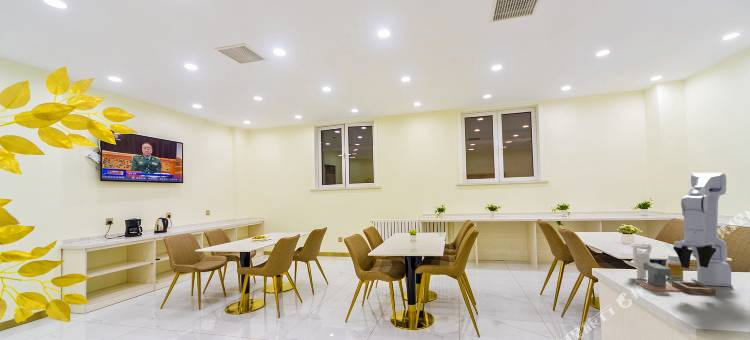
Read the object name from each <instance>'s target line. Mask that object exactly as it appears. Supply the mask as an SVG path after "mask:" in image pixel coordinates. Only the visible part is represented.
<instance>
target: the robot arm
mask: <svg viewBox="0 0 750 340" xmlns="http://www.w3.org/2000/svg"><path fill="white" fill-rule="evenodd" d="M690 184H691V188H690V189H689V191H688V193H687V194H686V195H685V196H683V197H681V201H680V206H681V213H682V215H681V216H683V239H681V240H678V241H673V246H672V248H673V250H674V252H675V253H676V255H678V257H679V260H680V263H681V266H682V267H683V269H684V268H685V269H690V266H691V265H690V264H691V257H693V258H694V259H695V260H696V263H697V265H696V269H697V270H696V274H697V275H696V277H697V278H694V277H693V278H691V280H693V282H699V283H701V284H704V285H706V286H718V287H733V286H734V285H733V284H732V267H731V266H730V264H729V263H728V262H726V261H727V259H728V249H727V248H728V246H727V243H726V242H725V240H723V239H721V238H720V237H719V236H718V213H719V211H718V209H719V200H720V196H722V195H725V194H726V192H727V176H726V173H724V172H699V173H698V172H692V174H691V175H690ZM690 248H691V249H690Z"/></svg>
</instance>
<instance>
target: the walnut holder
mask: <svg viewBox="0 0 750 340" xmlns="http://www.w3.org/2000/svg"><path fill="white" fill-rule="evenodd" d="M671 286H672V287H674V288H676V289H679V290H680V292H684V293H686V294H693V295H708V296H717V289H716V288H713V287H711V286H710V285H704V284H702V283H699V282H697V281H684V280H671Z"/></svg>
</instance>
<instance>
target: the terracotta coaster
mask: <svg viewBox="0 0 750 340" xmlns="http://www.w3.org/2000/svg"><path fill="white" fill-rule="evenodd" d="M634 283H636V284H637V283H639V284H641V285H643V286H644V287H643V286H642V287H643V288H646V289H647V290H648V291H656V292H657V291H658V292H674V293H675V292H676V293H681V290H679V289H677V288H675V287H673V286H672V285H670V284H668V283H666V287H654V286H652V285H650V284H648V282H647V283H646V280H645V281H644V280H635V281H634ZM639 284H638V285H639ZM641 285H640V286H641Z"/></svg>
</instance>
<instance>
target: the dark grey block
mask: <svg viewBox="0 0 750 340" xmlns="http://www.w3.org/2000/svg"><path fill="white" fill-rule="evenodd" d="M644 269H645V270H646V272H647V281H648V284H650V285H652V286H654V287H666V284H667V277H666V276H671V269H669V268H667V267H666V266H664V265H662V264H659V263H657V262H650V263H644Z"/></svg>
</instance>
